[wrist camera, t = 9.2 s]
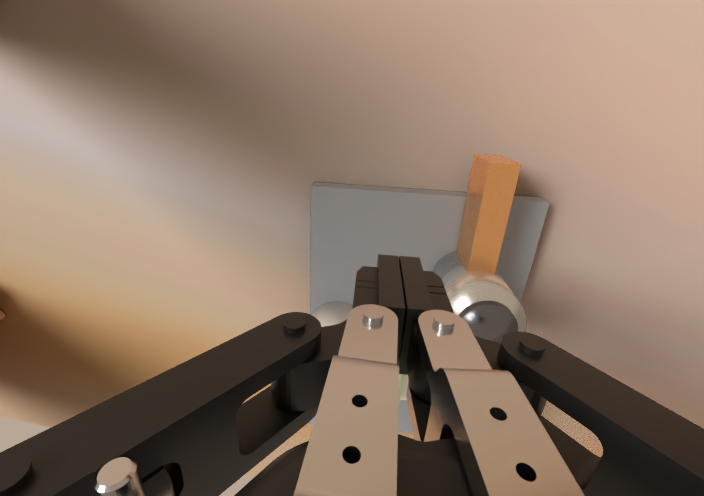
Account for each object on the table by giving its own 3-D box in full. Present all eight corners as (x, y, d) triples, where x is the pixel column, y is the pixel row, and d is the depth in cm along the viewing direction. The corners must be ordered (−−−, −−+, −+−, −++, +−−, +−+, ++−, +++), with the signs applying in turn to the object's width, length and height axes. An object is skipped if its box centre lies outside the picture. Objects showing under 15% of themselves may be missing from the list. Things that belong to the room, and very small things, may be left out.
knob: (488, 309, 28) (519, 367, 22) (425, 304, 28) (439, 360, 22) (525, 157, 23) (578, 177, 17) (450, 152, 23) (476, 170, 17)
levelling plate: (314, 181, 26) (289, 213, 19) (540, 197, 26) (606, 236, 18) (312, 411, 36) (295, 492, 28) (477, 426, 35) (504, 514, 28)
